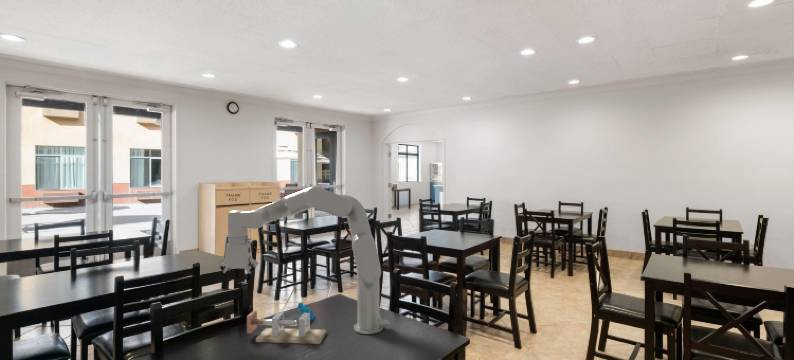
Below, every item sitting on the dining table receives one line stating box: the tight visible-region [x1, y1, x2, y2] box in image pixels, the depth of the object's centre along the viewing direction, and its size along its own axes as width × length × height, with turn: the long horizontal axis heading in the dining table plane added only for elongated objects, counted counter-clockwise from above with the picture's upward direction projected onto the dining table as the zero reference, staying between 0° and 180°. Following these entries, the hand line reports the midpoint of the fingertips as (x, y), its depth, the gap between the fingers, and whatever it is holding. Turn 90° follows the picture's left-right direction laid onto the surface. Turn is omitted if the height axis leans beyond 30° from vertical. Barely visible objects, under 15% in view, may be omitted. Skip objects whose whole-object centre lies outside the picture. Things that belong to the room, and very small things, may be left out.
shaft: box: [246, 310, 298, 334], centre depth 160 cm, size 20×6×7 cm, turn 86°
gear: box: [297, 302, 315, 321], centre depth 180 cm, size 11×6×10 cm
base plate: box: [255, 327, 327, 345], centre depth 160 cm, size 26×10×2 cm, turn 86°
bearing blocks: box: [271, 311, 311, 338], centre depth 160 cm, size 14×7×8 cm, turn 86°
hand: (238, 282), depth 161 cm, fingers open, 8 cm apart
